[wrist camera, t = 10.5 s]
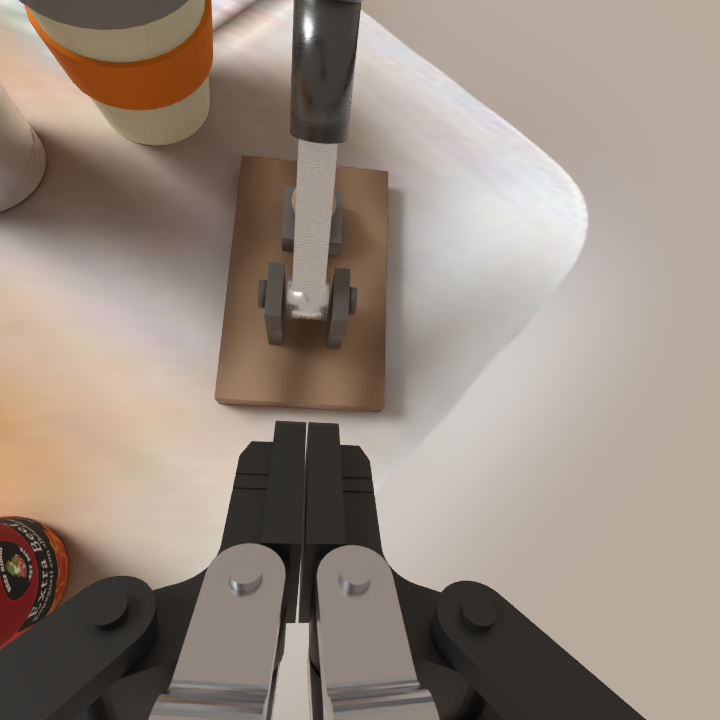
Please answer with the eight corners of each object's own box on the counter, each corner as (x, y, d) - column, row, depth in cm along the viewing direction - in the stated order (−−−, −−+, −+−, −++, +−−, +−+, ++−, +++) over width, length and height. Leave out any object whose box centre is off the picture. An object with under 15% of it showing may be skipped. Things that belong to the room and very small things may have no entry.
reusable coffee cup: (45, 100, 41) (-89, -114, 27) (157, 20, 45) (92, -205, 30) (156, 191, 40) (79, 21, 26) (261, 103, 44) (245, -90, 29)
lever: (277, 329, 31) (286, -99, 18) (281, 298, 34) (291, -92, 21) (333, 333, 31) (380, -83, 19) (333, 302, 34) (374, -78, 22)
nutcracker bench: (218, 403, 36) (198, 378, 28) (244, 171, 42) (233, 97, 34) (379, 412, 38) (401, 390, 30) (383, 186, 43) (403, 118, 35)
